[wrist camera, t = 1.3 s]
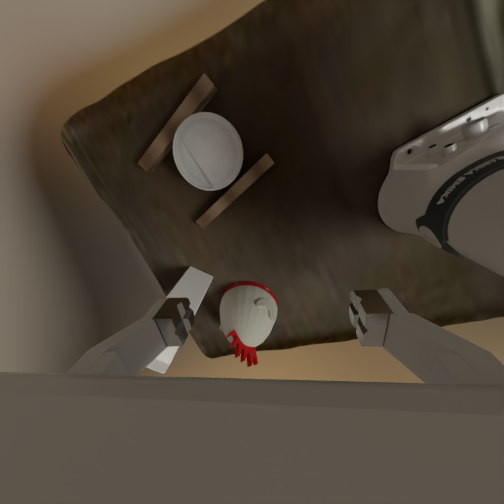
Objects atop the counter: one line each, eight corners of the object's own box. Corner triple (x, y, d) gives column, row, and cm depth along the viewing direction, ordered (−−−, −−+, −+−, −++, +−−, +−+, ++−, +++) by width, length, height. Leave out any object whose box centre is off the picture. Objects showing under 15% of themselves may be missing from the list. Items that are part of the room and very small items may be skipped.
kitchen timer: (247, 332, 54) (238, 391, 41) (210, 300, 51) (187, 352, 37) (288, 308, 49) (294, 366, 36) (251, 270, 46) (241, 318, 32)
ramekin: (178, 169, 38) (164, 172, 33) (196, 104, 33) (183, 95, 28) (231, 197, 39) (226, 202, 34) (257, 137, 34) (254, 134, 29)
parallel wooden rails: (209, 78, 31) (204, 72, 29) (274, 162, 35) (274, 163, 33) (145, 162, 38) (137, 163, 35) (207, 225, 42) (203, 229, 40)
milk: (190, 265, 47) (127, 345, 27) (214, 276, 47) (170, 362, 27) (182, 284, 49) (120, 370, 29) (205, 294, 50) (159, 385, 30)
